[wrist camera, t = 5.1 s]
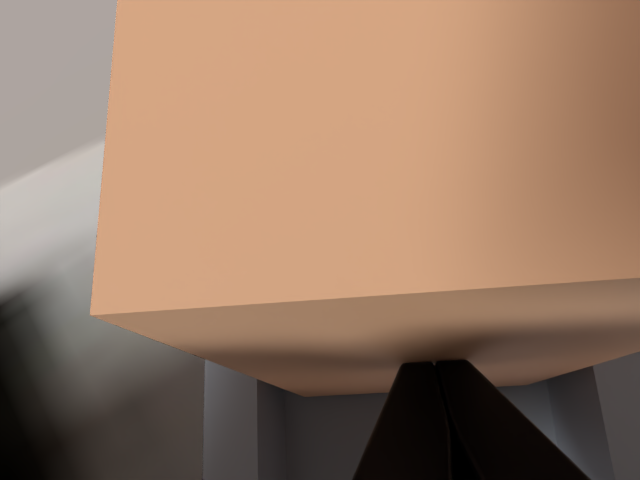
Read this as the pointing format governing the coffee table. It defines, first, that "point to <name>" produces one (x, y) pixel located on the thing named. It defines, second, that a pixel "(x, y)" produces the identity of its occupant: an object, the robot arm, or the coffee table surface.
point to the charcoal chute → (363, 411)
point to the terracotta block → (374, 186)
